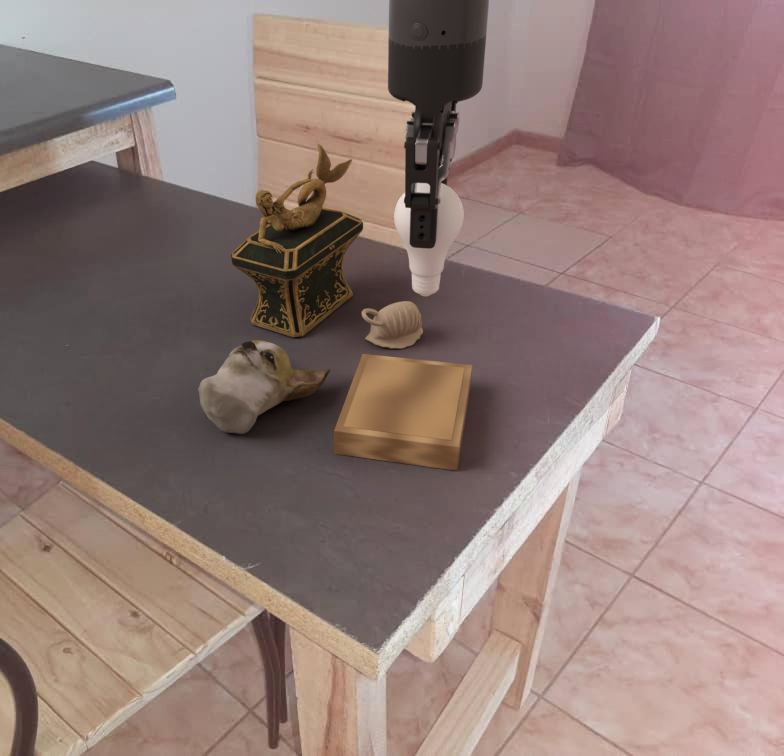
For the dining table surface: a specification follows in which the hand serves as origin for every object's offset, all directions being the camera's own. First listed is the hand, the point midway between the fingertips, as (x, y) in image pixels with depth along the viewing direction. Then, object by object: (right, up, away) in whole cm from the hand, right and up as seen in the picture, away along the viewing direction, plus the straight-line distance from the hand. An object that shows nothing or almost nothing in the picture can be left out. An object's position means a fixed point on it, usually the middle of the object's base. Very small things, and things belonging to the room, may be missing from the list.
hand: (428, 229), depth 70 cm
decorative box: (-9, -4, +33) cm, 34 cm away
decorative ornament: (0, -9, +24) cm, 26 cm away
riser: (0, -18, +11) cm, 21 cm away
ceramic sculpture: (-16, -17, +15) cm, 27 cm away
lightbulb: (0, -6, +4) cm, 7 cm away
